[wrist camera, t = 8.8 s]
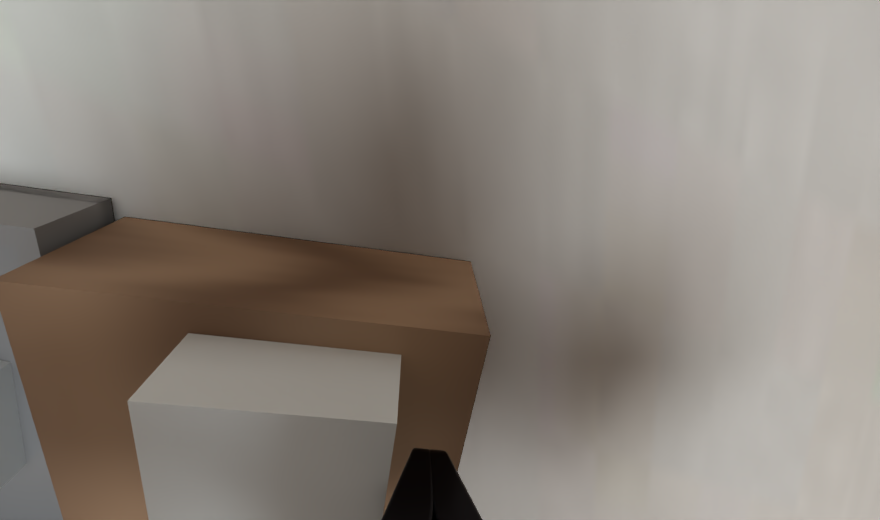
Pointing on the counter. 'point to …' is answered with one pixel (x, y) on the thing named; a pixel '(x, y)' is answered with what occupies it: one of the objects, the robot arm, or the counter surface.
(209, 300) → the brown wooden block
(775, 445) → the counter surface
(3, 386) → the tile
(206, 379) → the tile
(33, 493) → the tray
